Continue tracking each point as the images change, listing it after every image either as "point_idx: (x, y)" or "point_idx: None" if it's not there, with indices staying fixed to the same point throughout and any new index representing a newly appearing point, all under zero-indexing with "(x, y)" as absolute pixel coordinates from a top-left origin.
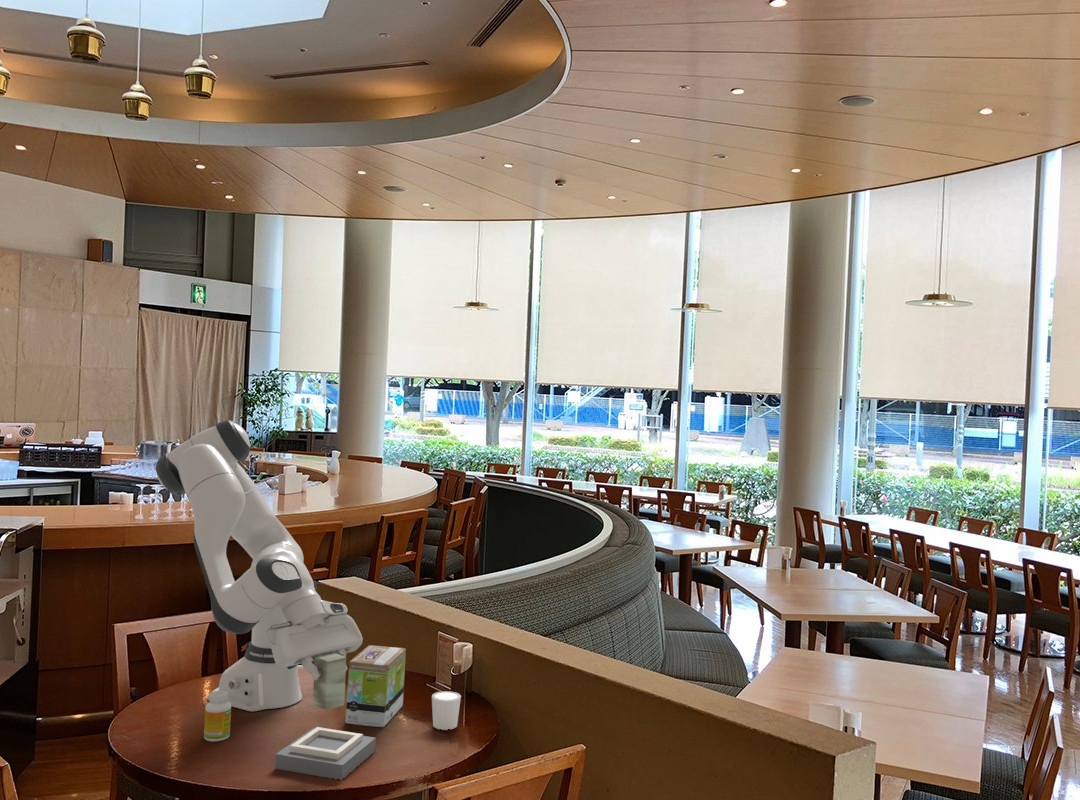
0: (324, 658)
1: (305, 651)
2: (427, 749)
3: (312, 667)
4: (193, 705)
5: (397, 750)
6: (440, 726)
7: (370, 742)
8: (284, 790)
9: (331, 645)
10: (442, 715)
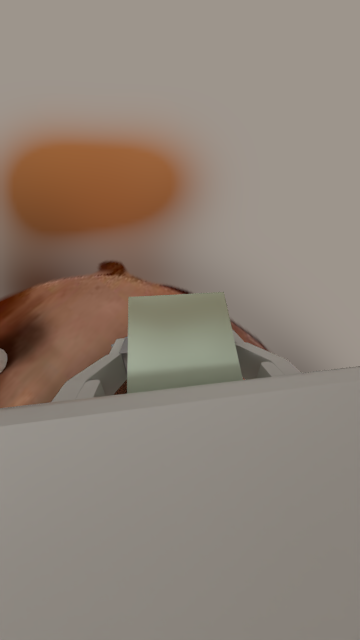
0: (217, 337)
1: (348, 384)
2: (71, 317)
3: (255, 347)
4: None
5: (96, 335)
6: (2, 355)
7: (125, 337)
8: (235, 324)
9: (136, 416)
10: None
